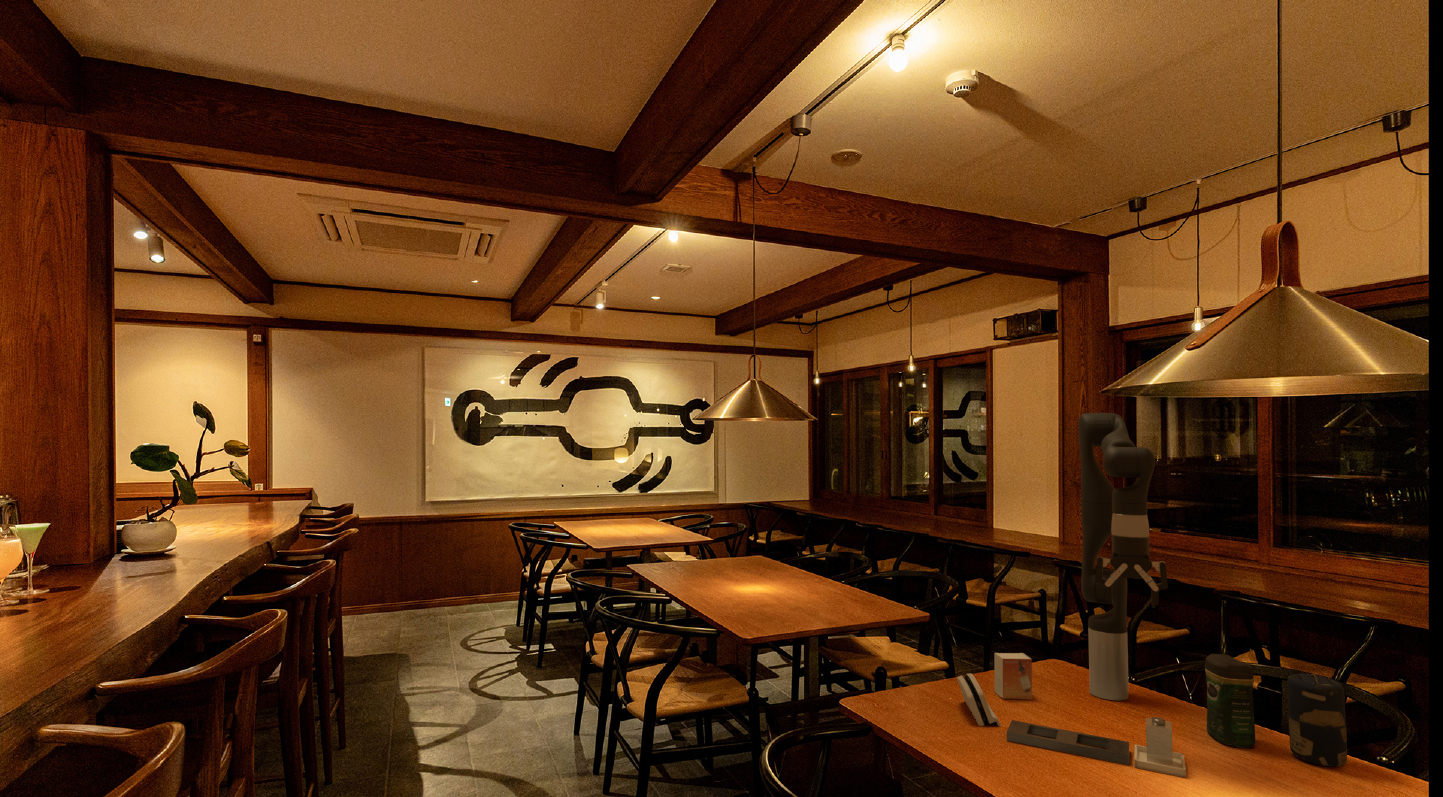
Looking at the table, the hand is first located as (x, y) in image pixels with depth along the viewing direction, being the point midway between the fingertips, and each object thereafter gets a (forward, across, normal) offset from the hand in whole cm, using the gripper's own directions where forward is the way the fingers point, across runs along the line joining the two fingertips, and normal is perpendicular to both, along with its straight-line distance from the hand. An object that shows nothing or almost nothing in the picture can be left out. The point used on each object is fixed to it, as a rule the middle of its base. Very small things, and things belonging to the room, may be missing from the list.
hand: (1131, 605), depth 166 cm
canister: (+30, -34, -8) cm, 46 cm away
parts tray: (+30, -4, +12) cm, 33 cm away
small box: (+30, +28, -16) cm, 44 cm away
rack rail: (+30, +13, +12) cm, 35 cm away
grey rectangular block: (+30, -4, +12) cm, 32 cm away
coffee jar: (+30, -19, -11) cm, 37 cm away
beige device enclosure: (+30, +34, +2) cm, 46 cm away
